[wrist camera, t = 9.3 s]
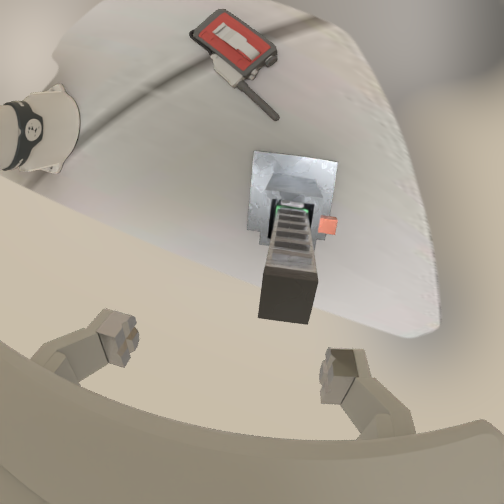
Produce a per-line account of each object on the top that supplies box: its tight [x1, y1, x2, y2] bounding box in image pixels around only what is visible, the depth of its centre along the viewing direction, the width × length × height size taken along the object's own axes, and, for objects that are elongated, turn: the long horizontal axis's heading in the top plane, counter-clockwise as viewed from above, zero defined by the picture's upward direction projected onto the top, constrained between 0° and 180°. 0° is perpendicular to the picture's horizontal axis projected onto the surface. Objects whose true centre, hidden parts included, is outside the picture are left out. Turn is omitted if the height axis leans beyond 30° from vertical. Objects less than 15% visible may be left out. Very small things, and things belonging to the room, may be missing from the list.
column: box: [258, 199, 318, 324], centre depth 24 cm, size 3×4×20 cm
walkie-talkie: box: [189, 9, 279, 121], centre depth 31 cm, size 9×4×20 cm
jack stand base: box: [247, 151, 338, 250], centre depth 34 cm, size 12×12×13 cm
